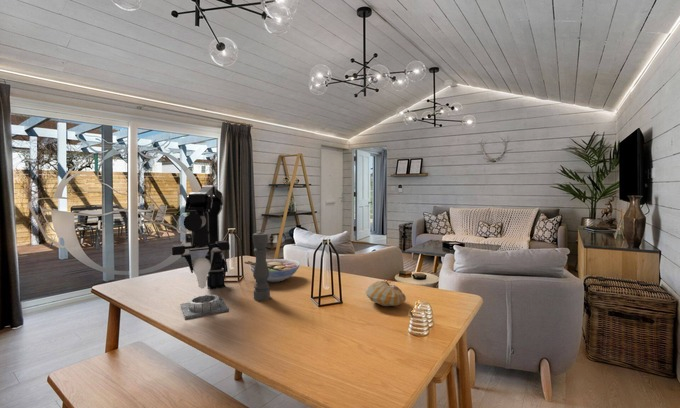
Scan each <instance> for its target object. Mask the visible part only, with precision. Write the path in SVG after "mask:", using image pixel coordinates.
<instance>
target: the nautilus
mask: <svg viewBox="0 0 680 408" xmlns="http://www.w3.org/2000/svg"><path fill="white" fill-rule="evenodd" d="M390 283H394V281H393V280H390V281H389V280H388V279H387V280H386V279H384V280H377V281H375V282H372V284H370V285H369V286H368V287H367V289H366V290H365V295H366V296H367V297H368V299H369V300H370V301H371V302H373V303H376V304H379V305H380V306H382V307H396V306H399V305H402V304H404V302H406V300H407V298H406V295H405V293H403V291H402V289H400V288H399V286H397V285H395V284H390Z"/></svg>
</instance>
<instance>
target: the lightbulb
mask: <svg viewBox="0 0 680 408" xmlns="http://www.w3.org/2000/svg"><path fill="white" fill-rule="evenodd" d="M192 267H193V273H194V275H195V276H196V282H197V286H198V288H200V289H205V287H207V276H208V272H209V270H210V268H211V264H210V261H209V260H208V259H206V258H205V257H198V258H196V259H195V260H194V261H193V262H192Z"/></svg>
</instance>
